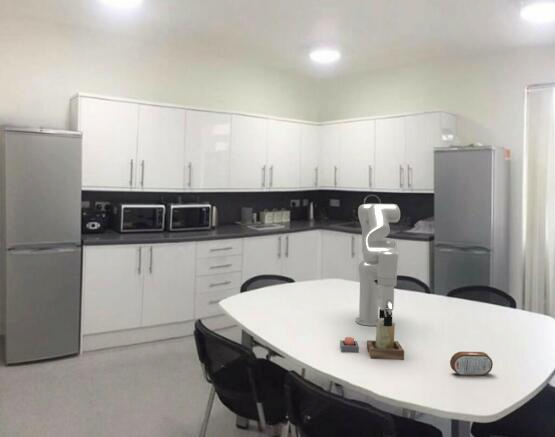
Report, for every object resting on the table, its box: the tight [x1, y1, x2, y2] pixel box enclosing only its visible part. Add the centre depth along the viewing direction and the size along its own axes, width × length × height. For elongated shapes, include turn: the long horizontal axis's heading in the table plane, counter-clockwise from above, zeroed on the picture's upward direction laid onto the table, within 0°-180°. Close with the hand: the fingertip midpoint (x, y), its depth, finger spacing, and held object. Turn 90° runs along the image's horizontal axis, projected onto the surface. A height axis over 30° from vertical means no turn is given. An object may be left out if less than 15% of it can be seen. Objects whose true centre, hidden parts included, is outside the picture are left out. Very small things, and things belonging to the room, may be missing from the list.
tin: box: [449, 351, 494, 377], centre depth 164 cm, size 15×3×8 cm, turn 92°
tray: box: [366, 339, 405, 360], centre depth 184 cm, size 11×13×4 cm
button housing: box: [339, 339, 360, 354], centre depth 188 cm, size 7×7×2 cm
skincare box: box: [375, 320, 396, 349], centre depth 183 cm, size 6×4×12 cm
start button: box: [344, 336, 355, 346], centre depth 188 cm, size 4×4×3 cm
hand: (385, 321), depth 183 cm, fingers open, 9 cm apart
